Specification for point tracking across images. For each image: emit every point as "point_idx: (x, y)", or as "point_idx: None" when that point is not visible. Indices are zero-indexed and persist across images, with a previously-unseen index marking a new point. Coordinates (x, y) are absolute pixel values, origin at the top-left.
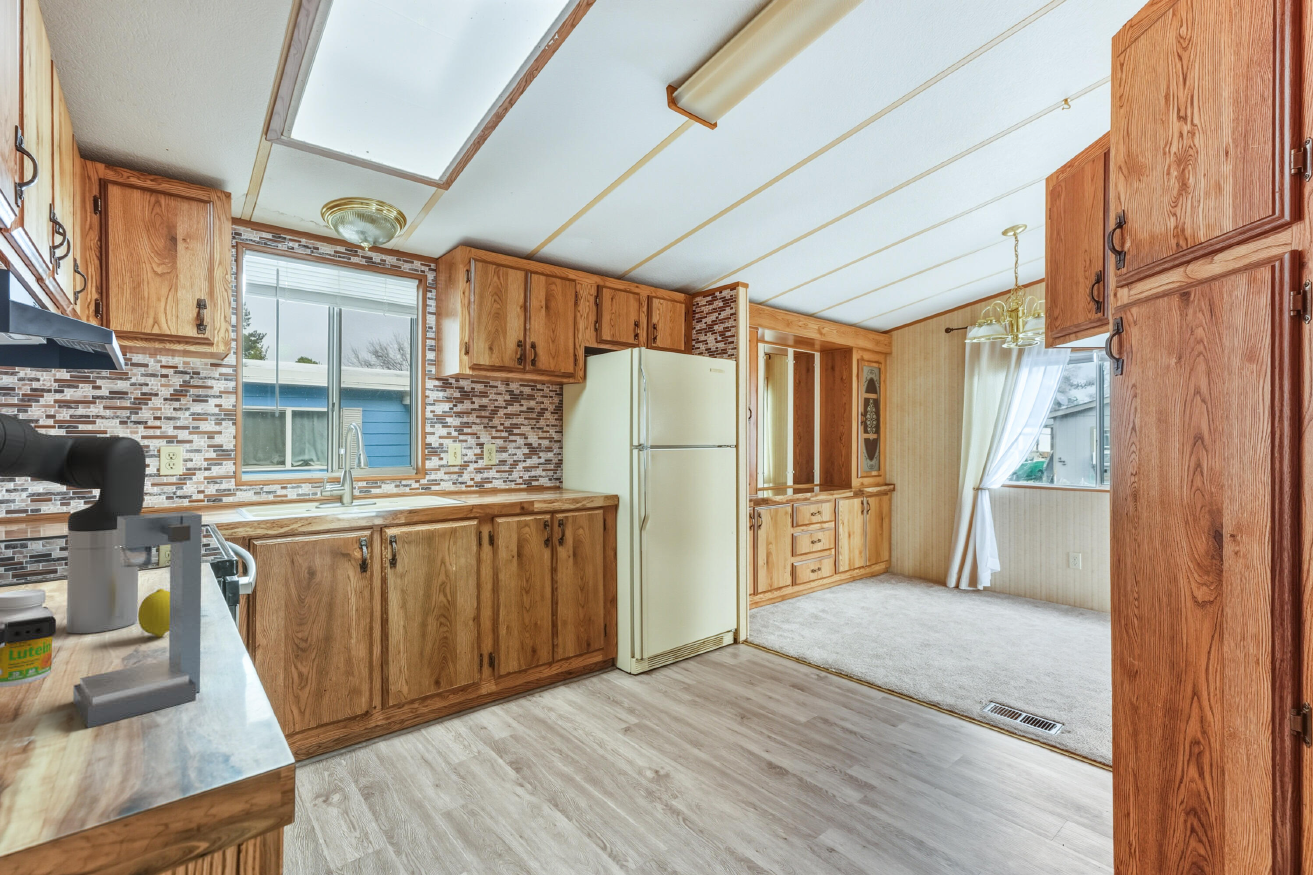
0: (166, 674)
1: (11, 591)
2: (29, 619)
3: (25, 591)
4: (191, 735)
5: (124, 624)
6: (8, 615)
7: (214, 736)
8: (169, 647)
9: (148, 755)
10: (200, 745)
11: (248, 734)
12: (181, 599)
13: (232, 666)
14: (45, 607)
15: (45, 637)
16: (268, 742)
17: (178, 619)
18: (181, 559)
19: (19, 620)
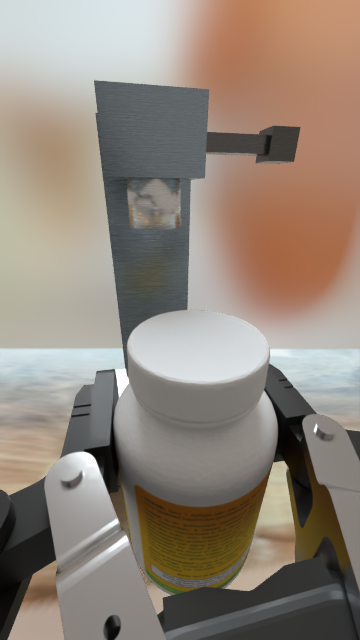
0: None
1: (140, 355)
2: (268, 381)
3: (176, 331)
4: (307, 384)
5: None
6: (255, 408)
7: (315, 373)
8: (125, 355)
9: (351, 411)
10: (334, 381)
11: (318, 358)
12: (186, 277)
13: (115, 354)
14: (108, 370)
15: None
16: (339, 351)
17: (171, 308)
18: (185, 212)
19: (272, 397)
